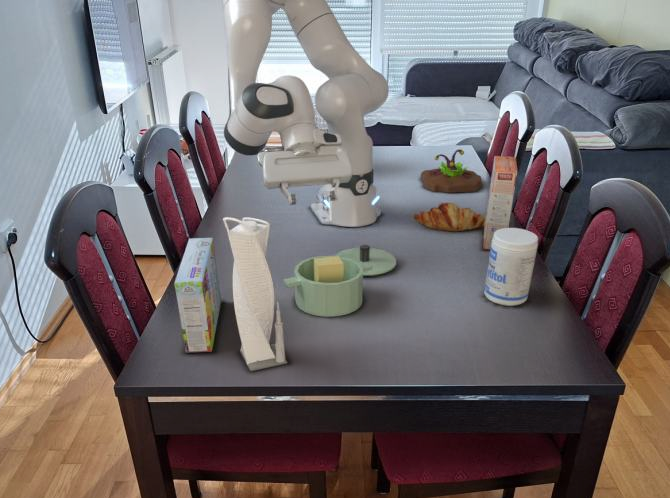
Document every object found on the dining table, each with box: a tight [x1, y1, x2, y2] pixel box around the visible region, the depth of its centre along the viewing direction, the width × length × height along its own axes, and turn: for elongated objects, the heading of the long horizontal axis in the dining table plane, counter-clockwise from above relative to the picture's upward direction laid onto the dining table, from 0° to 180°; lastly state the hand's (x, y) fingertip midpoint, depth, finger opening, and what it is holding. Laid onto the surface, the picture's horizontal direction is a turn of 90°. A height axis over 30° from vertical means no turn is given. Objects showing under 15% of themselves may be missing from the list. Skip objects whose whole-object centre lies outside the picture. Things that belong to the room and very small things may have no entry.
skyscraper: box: [222, 216, 288, 372], centre depth 115 cm, size 8×8×28 cm
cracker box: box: [482, 155, 518, 251], centre depth 167 cm, size 14×6×21 cm, turn 168°
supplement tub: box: [483, 227, 539, 307], centre depth 141 cm, size 10×10×15 cm
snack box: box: [173, 237, 222, 354], centre depth 128 cm, size 21×6×15 cm, turn 5°
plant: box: [420, 149, 483, 194], centre depth 212 cm, size 20×20×11 cm
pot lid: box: [334, 244, 397, 276], centre depth 158 cm, size 16×16×5 cm
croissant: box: [413, 202, 486, 232], centre depth 180 cm, size 21×10×8 cm
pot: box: [283, 255, 372, 318], centre depth 140 cm, size 15×20×8 cm
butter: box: [314, 255, 344, 283], centre depth 140 cm, size 4×6×9 cm
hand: (313, 201), depth 143 cm, fingers open, 8 cm apart
